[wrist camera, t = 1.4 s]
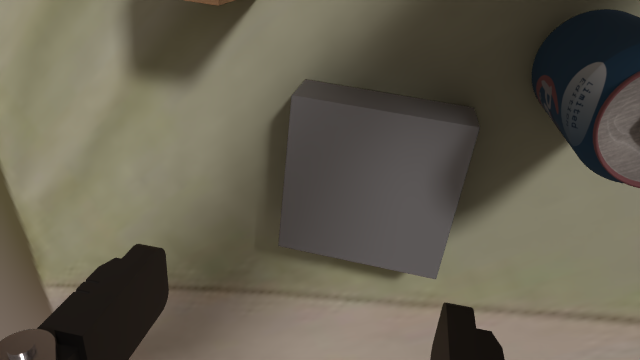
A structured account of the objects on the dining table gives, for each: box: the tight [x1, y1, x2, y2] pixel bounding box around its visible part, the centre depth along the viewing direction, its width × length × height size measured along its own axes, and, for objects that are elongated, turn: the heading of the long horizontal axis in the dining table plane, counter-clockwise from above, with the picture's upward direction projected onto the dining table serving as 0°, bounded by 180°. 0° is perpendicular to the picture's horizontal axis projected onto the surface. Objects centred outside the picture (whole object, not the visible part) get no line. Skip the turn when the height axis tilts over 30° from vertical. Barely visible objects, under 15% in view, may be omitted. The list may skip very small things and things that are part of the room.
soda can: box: [532, 9, 640, 188], centre depth 25 cm, size 7×7×12 cm
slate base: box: [278, 79, 480, 279], centre depth 35 cm, size 12×12×4 cm
